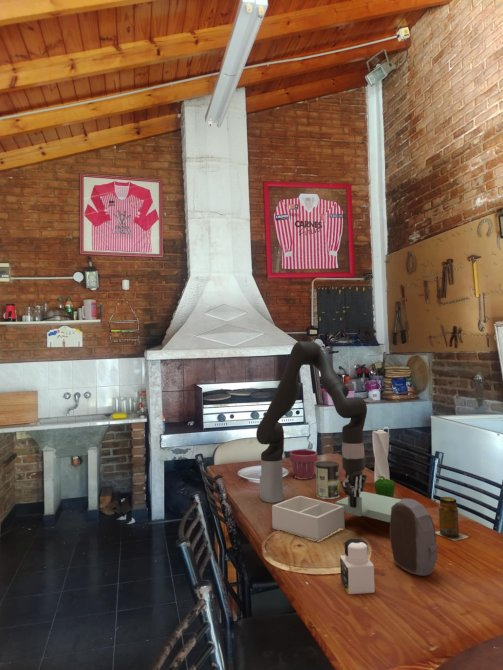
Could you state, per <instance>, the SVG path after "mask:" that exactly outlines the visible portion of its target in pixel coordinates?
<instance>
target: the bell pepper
mask: <svg viewBox="0 0 503 670" xmlns="http://www.w3.org/2000/svg"><path fill="white" fill-rule="evenodd" d="M378 477H379V478H382V479H383V480H382V479H378V480H377V481H375V480H374V490H375V494H377V495H382V496H387V497H392V498H394V494H395V490H396V485H395V484H396V483H395V481H394V480H392V479H390V480H388V479H385V477H383V476H378Z"/></svg>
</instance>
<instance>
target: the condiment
mask: <svg viewBox="0 0 503 670" xmlns="http://www.w3.org/2000/svg"><path fill="white" fill-rule="evenodd" d="M458 509H459V508H458V507H457V499H456V498H454V497H450V496H441V497H440V498H439V505H438V519H439V520H438V524H439V525H438V526H439V531H435V534H436V535H438V536H441V537H444V538H446V539H449V540H452V541H453V542H455V541H460V540H464V539H467V538H469V536H468V535H465V534H463V533H460V531H459V529H460V528H459V510H458Z"/></svg>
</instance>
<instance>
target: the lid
mask: <svg viewBox="0 0 503 670" xmlns="http://www.w3.org/2000/svg"><path fill="white" fill-rule="evenodd" d="M401 500H402V499H401V498H396V497H393V498H392V497H387V496H382V495H377V494H376V493H372V492H367V491H363V492H361V494H360V495H359V497H357V496H356V508H353V507H350V497H349V495H347V496H345V497H343V498H341V499H340V500H337V501H335V502H334V504H336V505H340V506H344V512H346V513H348V514H349V515H353V516H356V517H362V516H363V517H367V518H370V519H375V520H379V521H381V522H382V521H383V522H386V523H390V518H391V507H392V506H393V505H394V504H396V503H397V502H399V501H401Z"/></svg>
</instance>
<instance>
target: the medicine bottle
mask: <svg viewBox="0 0 503 670" xmlns="http://www.w3.org/2000/svg"><path fill="white" fill-rule="evenodd" d="M368 545H369V544H368V542H367V541H365V540H363V539H360V538H349V539H346V540H345V542H344V554H343V555H340V556H339V558H340V559H339V561H340V563H339V564H340V567H339V568H340V582H341V584H342V586H343V587H344V589H345V591H346V593H347V594H348V595H361V594H374V593H375V565H374V564H373V563H372V560H371V559H369V552H368V551H369V550H368V548H369V547H368Z"/></svg>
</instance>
